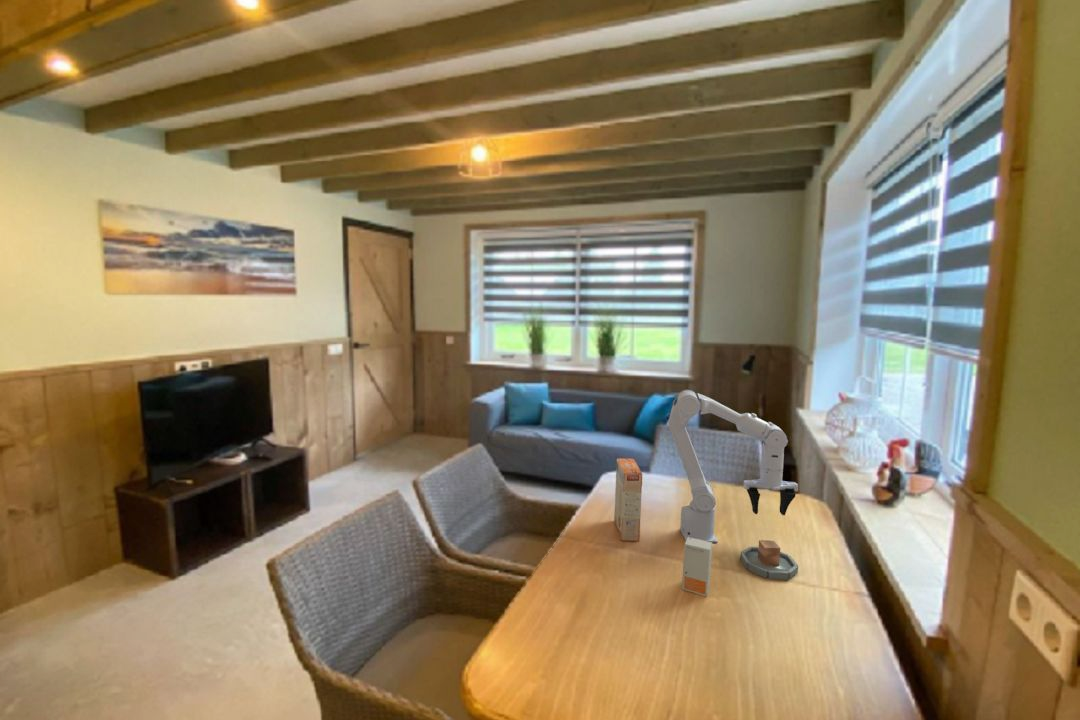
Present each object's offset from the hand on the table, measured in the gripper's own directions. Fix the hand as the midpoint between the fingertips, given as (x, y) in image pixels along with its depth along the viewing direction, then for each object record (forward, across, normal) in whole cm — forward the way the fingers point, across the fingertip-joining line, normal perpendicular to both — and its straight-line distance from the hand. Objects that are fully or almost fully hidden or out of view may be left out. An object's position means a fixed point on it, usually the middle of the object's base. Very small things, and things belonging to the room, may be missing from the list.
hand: (768, 513), depth 138 cm
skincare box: (+10, -26, -25) cm, 37 cm away
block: (+8, -4, -12) cm, 15 cm away
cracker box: (+10, -40, +4) cm, 41 cm away
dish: (+9, -4, -12) cm, 16 cm away
